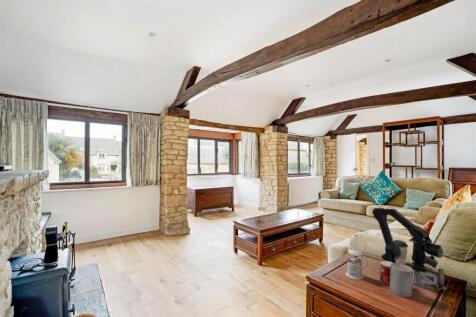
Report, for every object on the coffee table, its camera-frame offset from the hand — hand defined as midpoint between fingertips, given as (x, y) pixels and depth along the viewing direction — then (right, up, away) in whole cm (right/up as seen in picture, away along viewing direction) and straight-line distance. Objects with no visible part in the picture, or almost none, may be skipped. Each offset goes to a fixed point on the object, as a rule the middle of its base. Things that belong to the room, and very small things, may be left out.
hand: (417, 276), depth 137 cm
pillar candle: (-19, -2, -13) cm, 23 cm away
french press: (-34, -1, +4) cm, 35 cm away
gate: (+1, -1, -4) cm, 4 cm away
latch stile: (-5, -2, -6) cm, 7 cm away
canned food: (-20, -2, -4) cm, 20 cm away
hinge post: (+7, -2, -7) cm, 10 cm away
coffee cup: (+6, -3, +24) cm, 24 cm away
